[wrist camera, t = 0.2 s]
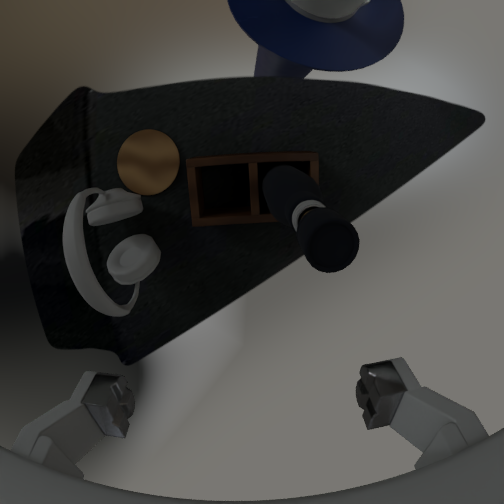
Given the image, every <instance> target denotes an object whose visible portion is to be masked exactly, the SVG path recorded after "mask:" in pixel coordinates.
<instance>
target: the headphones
mask: <svg viewBox="0 0 504 504" xmlns="http://www.w3.org/2000/svg"><path fill="white" fill-rule="evenodd" d="M92 193H100V194H99V197H98V198H97V200H96V201H95V202H94V203H93V204H92V205H91V206H90V207H89V208H88V209H87V210H86V213H88V215H87V217H88V222H89V224H90V225H91V226H99V225H103V224H108V223H112V222H115V221H119V220H122V219H126V218H129V217H132V216H134V215H137V214H139V213H141V212H142V210H143V206H142V202H141V200H140V199H141V195H138V194H134V193H129V192H126V191H125V190H123V188H116V189H111V190H108V191H105V192H104V191H102V190H100V189H98V188H89V189H86V190H84V191H83V192H80V193H78V194H77V195H76V196H75V197H74V199H73V200H72V202H71V203H70V206H69V208H68V211H67V214H66V217H65V221H64V228H63V248H64V255H65V259H66V263H67V267H68V270H69V272H70V275H71V277H72V279H73V282H74V284H75V286H76V287H77V289H78V291H79V292H80V294H81V295H82V297H83V298H84V299H85V300H86V302H87V303H88V304H89V305H90V306H92V307H93V308H94V309H96V310H97V311H99V312H101V313H104V314H106V315H109V316H125V315H127V314H129V313H130V310H131V309H132V308H133V306H134V304H135V302H136V300H137V297H138V291H139V282H140V281H141V280H143V279H144V278H146V277H147V276H148V275H149V274H150V273H151V272H153V271H154V269H155V267H156V266H157V264H158V263H159V261H160V255H161V251H160V249H159V248H158V246H157V244H156V243H155V242H154V240H153V238H152V237H151V236H148V235H146V234H138V235H133V236H131V237H129V238H127V239H124V240H123V241H122V242H121V243H119V244H118V245H117V246H116V247H115V248H114V249H113V251H112V252H111V253H110V255H109V258H108V261H107V267H108V271H109V273H110V274H111V275H112V276H113V277H114V280H115V281H117V282H118V283H120V284H122V285H124V284H134V283H135V290H134V294H133V297H132V299H131V300H130V301H129V303H128V304H127V305H123V306H122V305H118V304H116V303H115V302H114V301H112V299H111V298H110V297H109V296H108V295H107V294H106V293H105V292H104V290H103V289H102V288H101V286H100V284H99V283H98V281H97V279H96V277H95V275H94V273H93V271H92V268H91V265H90V263H89V259H88V256H87V252H86V247H85V241H84V234H83V210H84V206H85V201H86V199H85V198H86V197H87V196H89V195H90V194H92Z"/></svg>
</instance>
